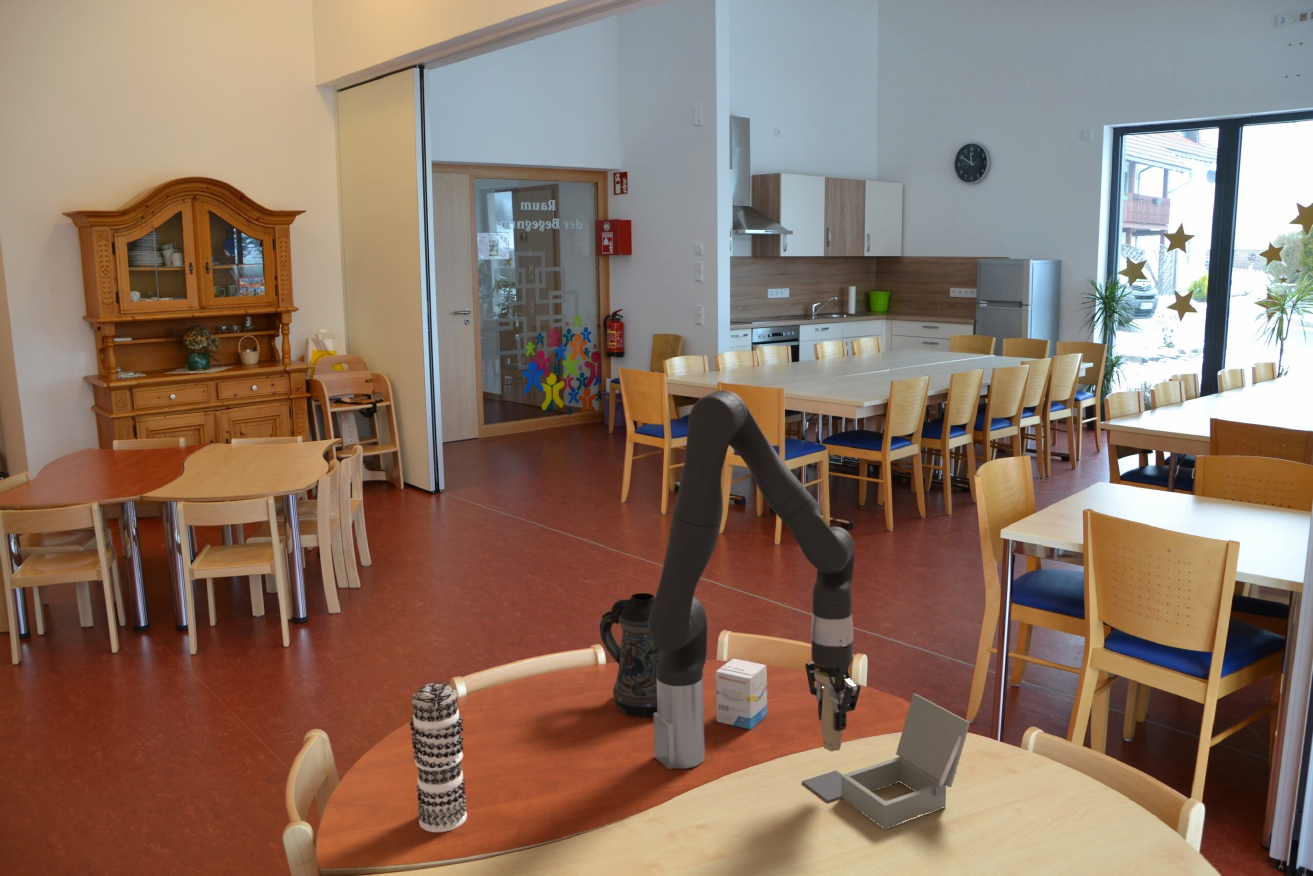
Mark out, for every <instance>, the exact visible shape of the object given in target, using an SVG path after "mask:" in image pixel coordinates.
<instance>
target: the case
mask: <svg viewBox="0 0 1313 876" xmlns="http://www.w3.org/2000/svg"><path fill="white" fill-rule="evenodd" d="M970 724H971V722H970V721H968V720H966V719H964V718H962V717H960V716H959V715H957V714H955V713H953V712H951V711H949V710H947V709H945V708H944V707H941V706H940V705H937V704H936V703H934V702H932V701H930V700H928V699H926V698H924V697H922V696H921V695H919V694H917V693H912V697H911V701H910V703H909V707H908V710H907V714H906V718H905V721H904V725H903V728H902V731H901V735H900V738H899V741H898V745H897V749H896V752H895V754H896V756H898V757H895V758H894V757H893V758H892V759H888V760H885V761H882V762H878V763H875V764H873V765H869V766H867V767H862V768H861V769H857V770H854V771H851V772H847V773H845V774H842V775H841V798H840V799H842V798H843V799H844V800H843V799H842V800H843V801H844V802H846V801H847V802H848V803H847V802H846V803H847V804H849V803H850V804H851V805H852V806H851V805H850V804H849V805H850V806H851V807H853V806H854V807H855V808H854V807H853V808H854V809H855V810H857V809H858V810H859V811H858V810H857V811H858V812H860V811H861V812H863V813H864V814H865V815H867V816H868V817H869V818H871V819H872V820H874V821H875V822H876V823H878V824H879V825H880V826H882V827H883V828H884V829H885V830H887V829H886V828H888V827H891V826H893V825H896V824H898V823H901V822H903V821H905V820H908V819H911V818H914V817H917V816H918V815H921V814H925V813H929V812H932V811H935V810H937V809H940V808H942V807H945V806H946V804H947V801H946V800H947V787H949V788H952V787H953V784H954V779H955V776H956V773H957V769H958V766H959V763H960V759H961V756H962V752H963V749H964V745H965V742H966V738H967V734H968V732H969V728H970ZM899 781H900V782H902V783H903V784H905V785H907V786H908V787H910V788H911V789H913V790H915V792H914V791H912V792H909V793H907V794H904V795H900V796H897V797H895V798H892V799H890V800H884V799H883V798H881V797H879V795H877V794H876V793H874V791H873V790H875V791H877V790H876V789H878V788H881V787H884V786H887V787H889V786H888V785H890V784H893V783H896V782H899ZM900 782H899V783H900ZM902 783H901V784H902ZM896 784H897V783H896ZM903 784H902V785H903ZM893 785H894V784H893ZM905 785H904V786H905ZM890 786H891V785H890ZM908 787H907V788H908ZM884 788H885V787H884ZM881 789H882V788H881ZM911 789H910V790H911ZM878 790H879V789H878ZM871 791H872V792H871ZM861 812H860V813H861ZM864 814H863V815H864ZM865 815H864V816H865ZM868 817H867V818H868ZM869 818H868V819H869ZM871 819H870V820H871ZM872 820H871V821H872ZM875 822H874V823H875ZM876 823H875V824H876ZM879 825H878V826H879ZM880 826H879V827H880ZM882 827H881V828H882ZM883 828H882V829H883ZM891 828H892V827H891ZM884 829H883V830H884ZM888 829H889V828H888Z"/></svg>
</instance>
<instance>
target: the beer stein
mask: <svg viewBox="0 0 1313 876" xmlns="http://www.w3.org/2000/svg"><path fill="white" fill-rule="evenodd" d="M654 600H655V596H654V595H653V594H652V593H645V592H643V593H642V592H641V593H640V592H639V593H634V594H632V595H631V596H630V598H629V599H619V600H617V601H616V602H614V604H613V605H612V607H611V609H610V610H608V611H606V612H604V613H603V614H602V616H601V620H600V621H599V622H600V623H599V635H600V639H601V642H602V643H603V645H604V648H605V650H606V651H607V653H608V654H609V655H610V657H612V659H613V660H614V661H615V662H616V663H617V664H618V671H617V675H616V676H617V677H616V681H615V682H614V685H613V689H612V690H613V691H612V695H613V698H614V702H615V707H616V708H617V709H618V711H620V713H623V714H625V715H628V716H630V717H636V718H643V719H645V718H646V719H649V718H651V719H652V718H653V719H654V713H655V712H657V677H656V666H657V663H658V661H659V659H660V657H661V655H662V653H663V650H661V649H659V648H658V647H657V646H656V645H655V644H654V643H653V641H652V639H651V637H650V634H649V629H648V621H649V616H650V612H651V609H652V606H653V603H654ZM613 624H616V625H620V627H621V629H622V632H621V642H620V643H621V644H620V646H619V644H618V643H617V641H616V639H615V637H614V635H613V632H612V626H613Z"/></svg>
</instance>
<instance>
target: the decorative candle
mask: <svg viewBox="0 0 1313 876" xmlns="http://www.w3.org/2000/svg"><path fill="white" fill-rule="evenodd" d="M458 696H459V693H458V691H457V690H456V689H453V688H452V686H450V685H449V684H446V683H443V682H433V683H432V682H431V683H427V684H424V685H422V686H421V687H419V688H418V690H417V692H416V693H414V694H413V695H412V696H411V699H410V701H411V703H412V704H413V706H412V707H413V715H412V718H411V721H410V722H409V725H410V727H409V729H410V730H411V731H412V732H411V734H410V736H411V740H412V743H411V744H412V749H413V750H414V751H413V752H412V753H413V759H414V763H415V766H416V767H417V773H418V775H417V785H416V792H417V798H416V799H417V801H418V802H417V811H418V818H419V820H418V823H419V826H420V828H421V829H423V830H425V831H426V832H430V833H445V832H448V831H452V830H455V829H457V828H460V827H461V826H462V825H463V824H464V823H465V822H466V821H467V816H468V813H467V812H466V811H467V809H468V808H467V804H466V803H467V796H466V795H465V794H466V792H467V791H466V787H465V786H466V785H465V784H466V782H465V781H466V780H465V779H464V772H463V770H462V769H463V768H462V760H463V758H464V753H463V751H464V744H463V743H462V742H464V737H463V735H462V732H463V731H464V726H463V725H462V723H463V722H464V719H463V717H462V716H461V715H460V712H459V711H460V709H459V708H458V699H457V698H458Z"/></svg>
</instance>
